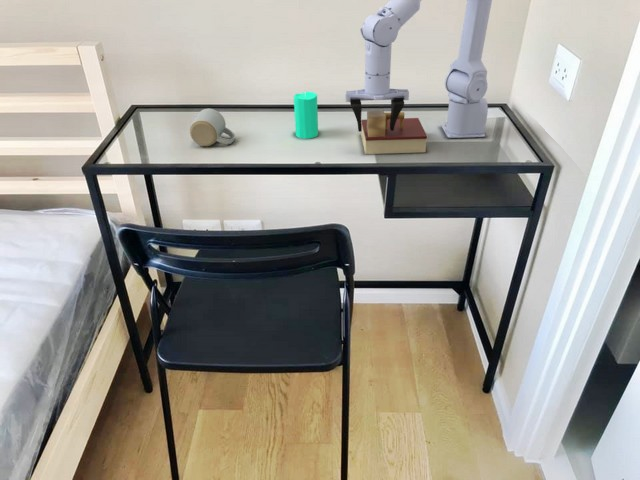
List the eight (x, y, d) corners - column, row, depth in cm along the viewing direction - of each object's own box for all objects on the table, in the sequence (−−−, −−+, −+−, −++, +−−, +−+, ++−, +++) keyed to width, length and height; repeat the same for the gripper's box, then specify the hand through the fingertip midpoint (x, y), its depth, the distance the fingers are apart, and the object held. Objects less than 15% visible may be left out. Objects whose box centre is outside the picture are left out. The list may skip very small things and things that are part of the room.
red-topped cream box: (425, 152, 129) (426, 138, 127) (365, 154, 129) (365, 140, 127) (417, 133, 139) (418, 120, 137) (361, 135, 139) (361, 122, 137)
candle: (319, 130, 143) (318, 85, 136) (317, 138, 138) (315, 93, 131) (297, 130, 143) (294, 85, 137) (294, 138, 138) (291, 92, 132)
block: (383, 130, 130) (383, 110, 127) (384, 136, 126) (385, 116, 124) (366, 131, 130) (367, 111, 127) (368, 137, 126) (368, 116, 124)
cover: (427, 138, 126) (428, 119, 124) (365, 140, 126) (366, 121, 124) (418, 120, 137) (419, 102, 134) (361, 122, 137) (361, 104, 134)
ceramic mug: (190, 147, 135) (185, 118, 131) (199, 135, 142) (195, 107, 137) (231, 149, 134) (228, 119, 130) (238, 136, 141) (235, 108, 137)
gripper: (346, 78, 117) (346, 136, 124) (412, 76, 117) (408, 134, 124) (344, 69, 123) (344, 125, 130) (407, 67, 123) (404, 124, 130)
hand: (375, 129), depth 127 cm, fingers open, 7 cm apart
